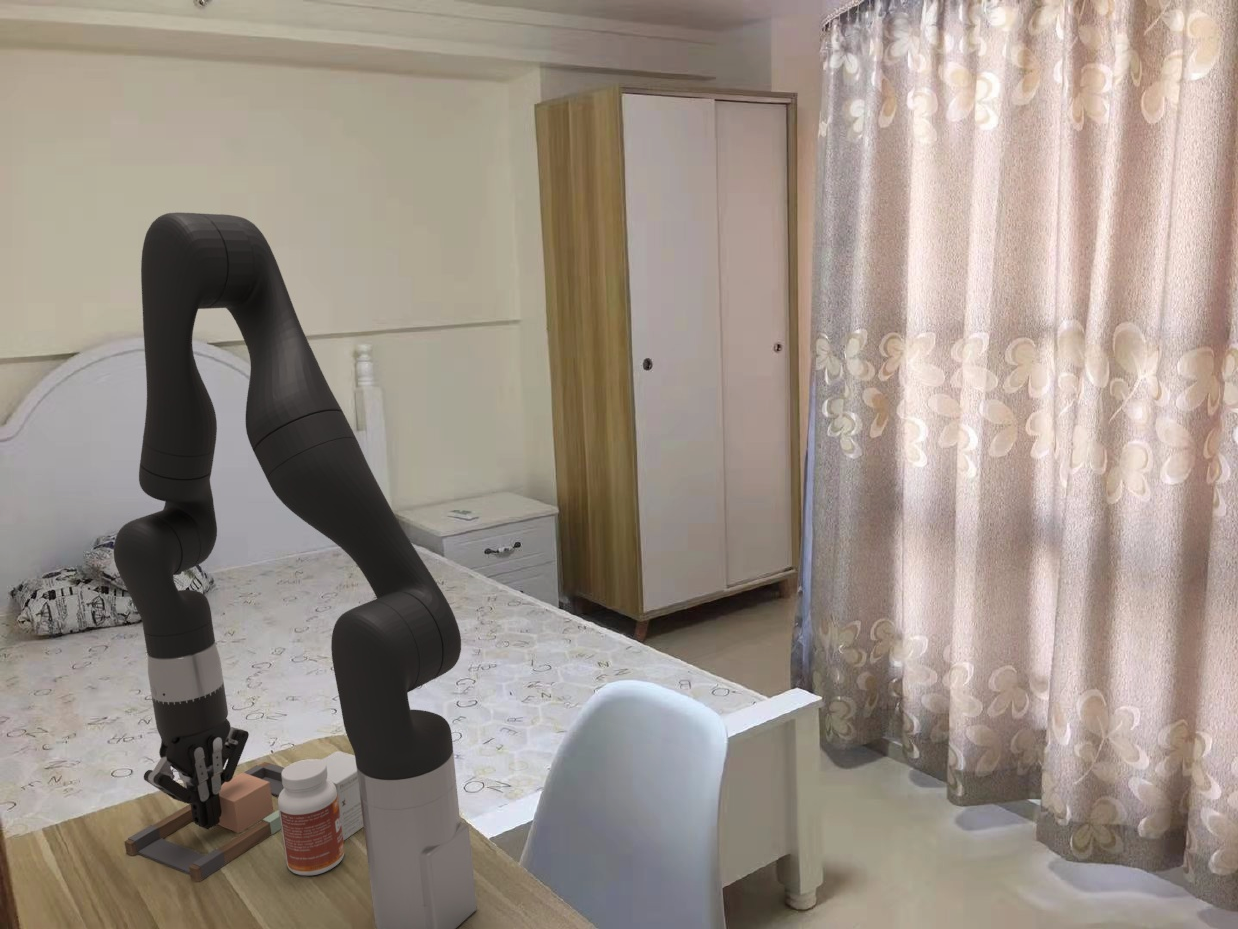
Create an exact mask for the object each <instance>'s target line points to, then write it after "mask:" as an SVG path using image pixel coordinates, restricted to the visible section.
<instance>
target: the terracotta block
mask: <svg viewBox="0 0 1238 929" xmlns="http://www.w3.org/2000/svg"><path fill="white" fill-rule="evenodd" d="M219 797H220V804H221V810H222V813H221V817H219V818H220V822H219V823H218V824H217V825H218V826H220V827H223V828H225V829H228V830H231V831H232V832H235V833H237V834H241V832H242V833H243V831H246V830H248V829H249V828H251V827H253V826H255V825H256V824H258V823H259V822H261V821H262V819H264V818H266V817H267V816H269V815H270V814H272V813H274V812H275V810H274V804H273V795H271V788H270V782H268V781H265V780H263V779H260V778H257V777H254V776H251V775H249V774H246V773H244V772H241V773H239V774H237V775H235V776H233V778H232V779H231V781H229V782H225V783H224V784H223V785H222V786H221V790H220V792H219Z"/></svg>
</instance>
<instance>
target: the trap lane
mask: <svg viewBox="0 0 1238 929" xmlns="http://www.w3.org/2000/svg"><path fill="white" fill-rule="evenodd" d="M284 768H285V766H280V765H277V764H274V763H271V762H268V761H263V762H261V763H260V764H258V765H257V764H256V765H254V766H252V767H251V768H249V769H247V770H246V771H244V772H243V773H246V774H249V775H251V776H254V777H257V778H260V779H263V780H265V781H268V782H270V788H271V795H272V797H273V796H275V797H277V798H278V797H279V794H280V792H281V791H282V790H283V789H284V787H283V784H282V776H281V773H282V771H283V769H284ZM191 822H193V816H192V810H191V804H188V805H186V806H184V807H182V808H181V809H179V810H177V811H175V812H173V813H172V814H170V815H168V816H166V817H165V818H162V819H161V820H160V821H157V822H156V823H154V824H150V825H149V826H147V827H145V828H143V829H141V830H140V831H138V832H136V833H134V834H133V835H131V836H129V837H128V838H127V839H126V840H124V846H125V854H128V855H130V856H132V857H134V856H136V855H137V854H138V855H139V856H142V857H145V858H147V859H149V860H152V861H154V862H157V863H160V864H162V865H164V866H166V867H170V868H172V869H175V870H178V871H180V872H182V873H184V874H187V875H189V876H190V880H192V881H195V882H197V883H199V882H201V881H203V880H204V879H206V878H207V877H209V876H211V875H212V874H213V873H215V872H217V871H218V870H220V869H221V868H223V867H224V866H226V865H227V864H228V863H230V862H231V861H233V860H235V859H236V858H238V857H239V856H241V855H243V854H244V853H245V852H247V851H249V850H250V849H251V848H254V847H255V846H256V845H257V844H259V843H261V842H262V841H264V840H266V839H267V838H269V837H270V836H272V835H274V834H276V833H277V832H279V831H280V830H282V829H281V822H280V815H279V808H278V809H277V810H274V813H272V814H270V815H269V816H267V817H265V818H264V819H262V820H260V821H259V822H257V823H255V824H254V825H252V826H251V827H249V828H247V829H246V830H244V832H242V833H239V835H238V836H236V837H234V838H233V839H231V840H229V841H228V842H226V843H224V844H223V845H221V846H220V847H218V848H214V849H213V850H211V851H210V852H208V853H206V854H205V853H201V852H199V851H197V850H193V849H190V848H188V847H186V846H183V845H180V844H178V843H175V842H172V841H170V840H167V839H164V838H166V837H167V836H170V835H171V834H172V833H174V832H176V831H178V830H180V829H181V828H183V827H185V826H187V825H188V824H190V823H191Z"/></svg>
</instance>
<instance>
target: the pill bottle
mask: <svg viewBox="0 0 1238 929" xmlns="http://www.w3.org/2000/svg"><path fill="white" fill-rule="evenodd" d="M327 775H328V773H327V767H326V764H325V762H324V761H322V760H321V759H316V758H308V759H307V758H306V759H301V760H297V761H295V762H292V763H290V764H288V765H287V766H284V769H283V771H282V773H281V776H282V784H283V787H284V789H283V790H282V791H281V792H280V794H279V797H277V805H278V807H277V808H278V809H279V815H280V822H281V829H280V830H281V835H282V841H283V848H284V856H285V862H286V866H287V868H288V869H289V871H291V872H292V873H293V874H296V875H299V876H316V875H321V874H323V873H326V872H329V871H330V870H331V869H333V868H334V867H336V866H338V865H339V863H340V862H341V861H342V860H343V859H344V856H345V843H344V841H345V840H344V841H343V834H342V826H341V819H340V811H339V804H338V796H337V790H336V787H335V785H334V784H333V782H332V781H330V780H328V779H327Z"/></svg>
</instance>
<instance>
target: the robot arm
mask: <svg viewBox="0 0 1238 929" xmlns="http://www.w3.org/2000/svg"><path fill="white" fill-rule="evenodd" d="M141 252H142V253H141V260H140V266H141V267H140V271H141V273H140V275H141V277H140V278H141V279H140V282H141V283H140V284H141V303H142V304H141V305H142V328H143V331H142V332H143V343H144V344H143V345H144V347H143V348H144V358H145V373H146V375H145V376H146V377H145V378H146V408H145V409H146V410H145V420H144V422H145V423H144V429H143V435H142V443H141V444H142V446H141V453H140V460H139V462H140V463H139V468H138V469H139V470H138V482H139V486H140V489H141V490H142V492H143V493H145V495H147V496H148V497H151V498H153V499H155V500H158V501H162V502H164V507H163V509H162V510H160V511H157V512H154V513H151V514H147V515H145V516H142V517H139V518H135V519H132V520H131V521H128V522H127V523H125V524H123V526H122V527H121V528H120V529H119V530H118V532H117V533H116V537H115V540H114V543H113V560H114V563H115V567H116V569H117V571H118V574H119V576H120V577H121V580H122V582H123V584H124V586H125V588H126V590H127V592H128V594H129V596H130V599H131V600H132V603H133V604H134V607H135V608H136V610H137V612H138V614H139V616H140V619H141V621H142V622H141V623H142V629H143V635H144V641H145V642H144V643H145V649H146V654H147V675H148V682H149V688H150V693H151V694H150V695H151V700H152V707H153V713H154V719H155V720H154V721H155V725H156V729H157V732H158V735H159V736H160V740H161V742H160V743H161V744H160V748H159V750H158V751H159V752H158V753H159V756H160V759H159V761H158V763H157V764H156V766H155V767H154V769H153V770H152V769H148V770H146V771H145V772H144V774H143V780H144V781H145V782H146V783H148V784H149V785H151V786H153V787H155V788H156V789H157V790H159V791H161V792H162V793H164V794H165V795H167V796H168V797H170V798H171V799H172V800H176V801H179V802H182V803H184V804H188V805H189V804H191V810H192V816H193V821H192V822H193V824H194V825H196V826H198V827H200V828H202V829H205V830H210V829H211V828H213V827H215V826H216V825H218V823H219V822H220V818H219V817H221V813H222V810H221V804H220V797H219V792H220V790H221V786H222V785H223V784H224V783H225V782H229V781H231V779H232V778H233V777H234V775H235V772H236V769H237V766H238V765H239V762H240V759H241V757H242V754H243V752H244V749H245V748H246V747H245V746H246V744H247V741H248V739H249V737H250V736H249V735H250V734H249V732H248V731H247V730H244V729H241V728H237V727H232V726H231V722H230V720H228V715H229V709H228V702H227V694H226V688H225V683H224V675H223V669H222V668H223V667H222V662H221V656H220V654H219V651H218V647H217V644H216V643H217V642H216V639H215V633H214V632H215V631H214V626H213V625H214V624H213V618H212V610H211V607H210V606H211V605H210V603H209V599H208V598H207V596H206V595H205V594H204V593H203V592H200V591H197V590H193V589H181V590H179V588H178V587H177V586H176V583H175V580H174V576H176V575H177V574H180V573H182V572H185V571H187V570H190V569H192V568H194V567H197V566H198V565H201V564H202V563H204V562H205V561H206V560H208V558H209V556H210V555H211V554H212V551H213V549H214V547H215V544H216V541H217V536H218V526H217V518H216V512H215V506H214V497H213V491H212V486H211V485H212V484H211V475H212V469H213V463H214V458H215V457H214V456H215V449H216V442H217V431H218V427H217V426H218V425H217V422H218V421H217V415H216V410H215V407H214V402H213V400H212V399H211V396H210V394H209V392H208V390H207V387H206V385H205V383H204V381H203V377H202V376H201V374H200V370H199V369H198V367H197V362H196V359H195V356H194V349H193V348H194V347H193V334H194V327H195V322H196V317H197V313H198V311H199V310H200V309H202V310H207V309H227V311H228V312H229V313H230V315H231V316H232V318H233V319H234V321H235V323H236V325H237V328H238V330H239V331H240V333H241V336H242V338H243V340H244V343H245V346H246V349H247V351H248V354H249V361H250V374H249V384H248V389H247V390H248V391H247V397H246V406H245V430H246V435H247V438H248V441H249V444H250V447H251V449H252V452H253V453H254V456H255V457H256V460H257V461H258V463H259V467H260V468H261V470H262V471H263V474H264V476H265V479H266V480H267V482H268V484H269V485H270V488H271V490H272V491H273V493H274V494H275V496H276V497H277V498H278V499H279V501H281V503H282V504H283V505H285V507H286V508H287V509H288V510H290V511H291V512H292V513H293V514H294V515H296V516H297V517H298V518H300V519H301V520H302V521H303V522H305V523H306V524H308V525H310V526H311V527H312V528H313V529H314V530H316V531H318V532H319V533H320V534H322V535H324V536H325V537H326V538H328V539H329V540H330V541H332V542H333V543H335V545H337V546H338V547H340V548H341V550H343V551H344V553H346V554H347V555H348V556H349V557H350V558H351V559H352V561H353V562H354V563H355V564H356V565H357V566H358V568H359V570H360V571H361V572H362V574H363V576H364V577H365V579H366V580H367V582H368V584H369V586H370V588H371V589H372V591H373V594H374V595H375V597H376V598H375V599H373V600H371V601H368V602H364V603H363V604H360V605H358V606H356V607H353V608H351V609H349V610H346V611H345V612H344V613H342V614H341V615H339V617H338V618H337V620H336V621H335V624H334V626H333V628H332V635H331V645H330V646H331V659H332V665H333V672H334V678H335V682H336V688H337V693H338V699H339V704H340V710H341V715H342V717H341V718H342V721H343V727H344V730H345V734H346V736H347V738H348V741H349V744H350V746H351V747H352V750H353V753H354V754H353V755H355V760H356V767H357V775H358V783H359V791H360V801H361V809H362V817H363V826H364V827H363V832H364V833H363V834H364V841H365V849H366V858H367V859H366V860H367V867H368V874H369V881H370V882H369V884H370V890H371V898H372V906H373V914H374V915H373V916H374V922H375V926H376V929H457V928H458V927H459V926H460V925H462V923H464V921H466V920H467V919H468V918H469V917H470V916H471V915H472V914H473V913H474V912H476V911H477V909H478V906H477V896H476V894H477V893H476V888H475V876H474V866H473V857H472V846H471V845H472V844H471V835H470V834H471V833H470V826H469V824H467V823H466V822H462V821H461V816H460V805H459V796H458V785H457V776H456V766H455V764H456V763H455V755H454V743H453V736H452V728H451V725H450V724H449V722H448V721H447V720H446V718H445V717H443V716H442V715H440V714H438V713H435V712H432V711H428V710H422V709H411V707H410V701H409V694H408V693H410V692H412V691H413V690H415V689H419V687H422V686H423V685H425V684H428V683H429V682H431V681H433V680H436V679H437V678H439V677H441V676H443V675H445V674H446V673H447V672H449V671H451V670H452V669H453V668H455V666H456V665H457V663H458V661H459V660H460V657H461V656H460V655H461V652H462V638H461V632H460V628H459V625H458V622H457V618H456V616H455V614H454V612H453V609H452V607H451V606H450V603H449V601H448V600H447V598H446V597H445V595H444V593H443V592H442V590H441V588H440V586H439V585H438V584H437V582H436V580H435V578H434V577H433V575H432V573H431V572H430V570H429V569H428V567H427V566H426V564H425V562H424V560H423V559H422V558H421V557H420V556H421V555H419V553H418V551H417V550H416V549H415V548H416V547H414V545H413V543H412V542H411V540H410V539H409V537H408V535H407V534H406V532H405V530H404V529H403V527H402V526H401V524H400V522H399V520H398V519H397V517H396V515H395V513H394V511H393V509H392V507H391V506H390V504H389V502H388V501H387V498H386V497H385V494H384V492H383V491H382V488H381V487H380V485H379V483H378V482H377V479H376V477H375V476H374V474H373V471H372V470H371V468H370V466H369V464H368V461H367V459H366V456H365V454H364V452H363V450H362V447H361V446H360V443H359V441H358V439H357V438H356V437H357V436H356V435H355V433H354V430H353V429H352V427H351V426H350V423H349V421H348V419H347V417H346V415H345V414H344V411H343V410H342V407H341V406H340V404H339V402H338V401H337V399H336V397H335V395H334V393H333V391H332V389H331V387H330V386H329V384H328V381H327V380H326V377H325V375H324V374H323V371H322V369H321V367H320V364H319V363H318V360H317V358H316V355H315V354H314V351H313V350H312V348H311V345H310V342H309V341H308V339H307V336H306V333H305V331H304V330H303V328H302V325H301V323H300V322H301V321H300V320H299V318H298V315H297V313H296V310H295V307H294V305H293V303H292V300H291V296H290V294H289V291H288V289H287V285H286V282H285V281H284V278H283V275H282V272H281V270H280V266H279V264H278V262H277V259H276V257H275V255H274V253H273V250H272V248H271V246H270V244H269V242H268V241H267V239H266V237H265V236H264V234H263V232H262V231H261V230H260V229H259V228H258V227H257V225H256V224H255V223H254V222H252V221H250V220H248V219H247V218H244V217H241V216H236V215H232V214H223V213H222V214H218V213H216V214H214V213H201V212H200V213H195V212H169V213H164V214H161V215H160V216H158V217H157V218H155V220H153V222H151V224H150V226H149V228H148V229H147V231H146V233H145V237H144V240H143V245H142V250H141ZM171 767H172V768H173V769H174V770H175V771H177V772H178V777H179V779H180V780H181V781H182V782H183V785H182V784H181V783H179V782H177V781H176V780H174V779H175V777H176V776H175V774H174V772H173V770H172V768H171Z"/></svg>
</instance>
